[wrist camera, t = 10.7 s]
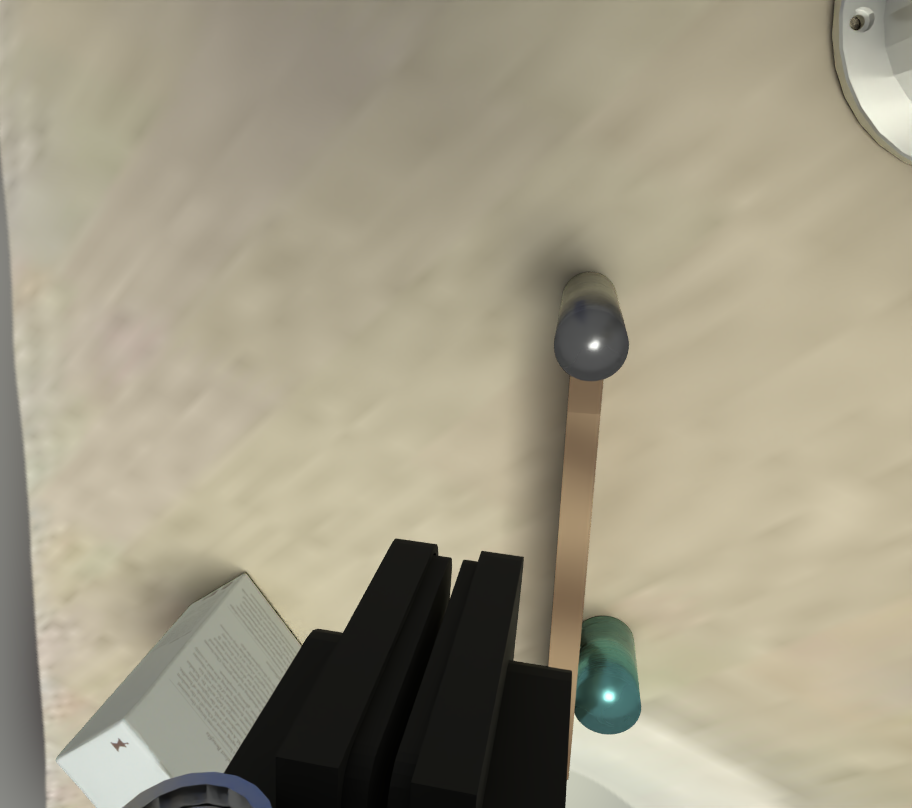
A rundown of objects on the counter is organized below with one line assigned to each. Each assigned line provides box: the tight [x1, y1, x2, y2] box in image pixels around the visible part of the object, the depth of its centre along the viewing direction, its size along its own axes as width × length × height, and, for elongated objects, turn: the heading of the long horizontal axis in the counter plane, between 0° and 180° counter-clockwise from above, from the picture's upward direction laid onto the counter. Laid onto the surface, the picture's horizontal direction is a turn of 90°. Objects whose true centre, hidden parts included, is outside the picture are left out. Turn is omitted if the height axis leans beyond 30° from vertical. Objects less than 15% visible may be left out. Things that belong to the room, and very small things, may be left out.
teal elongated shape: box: [554, 272, 641, 734], centre depth 33 cm, size 3×20×10 cm, turn 5°
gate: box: [548, 375, 603, 780], centre depth 34 cm, size 18×1×7 cm, turn 178°
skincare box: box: [56, 573, 301, 808], centre depth 37 cm, size 6×4×12 cm
